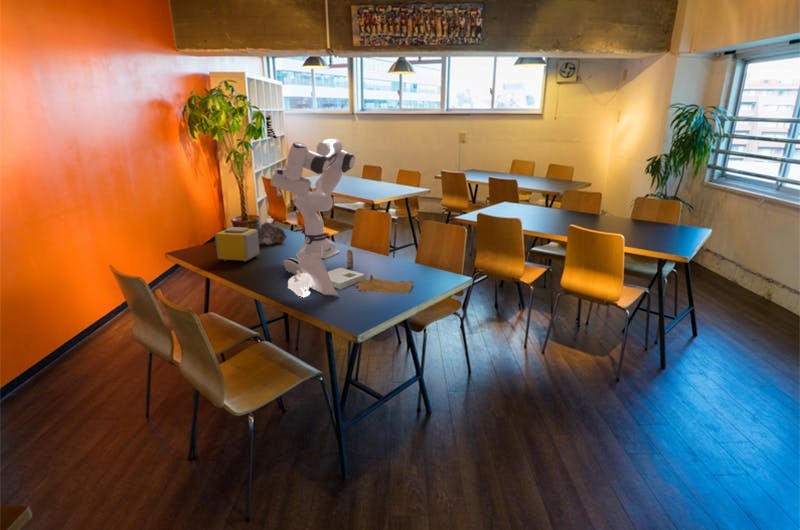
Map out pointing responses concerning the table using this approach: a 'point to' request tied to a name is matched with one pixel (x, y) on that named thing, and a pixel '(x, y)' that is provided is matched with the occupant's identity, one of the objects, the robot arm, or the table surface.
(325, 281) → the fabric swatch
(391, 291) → the leather hide
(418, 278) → the table surface
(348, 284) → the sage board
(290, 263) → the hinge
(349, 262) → the beech dowel
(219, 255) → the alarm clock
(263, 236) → the rock
